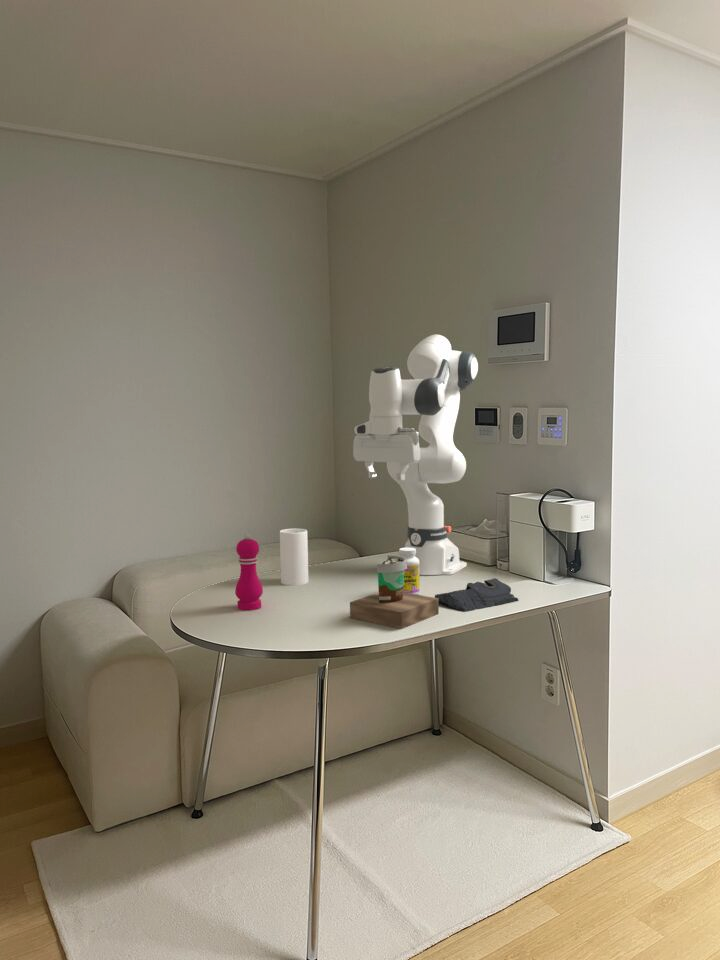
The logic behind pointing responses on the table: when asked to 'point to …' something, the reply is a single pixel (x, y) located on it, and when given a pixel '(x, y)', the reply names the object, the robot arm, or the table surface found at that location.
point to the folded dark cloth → (478, 596)
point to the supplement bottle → (410, 570)
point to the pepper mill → (248, 575)
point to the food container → (391, 579)
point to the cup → (294, 556)
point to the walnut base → (395, 610)
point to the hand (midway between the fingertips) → (386, 479)
